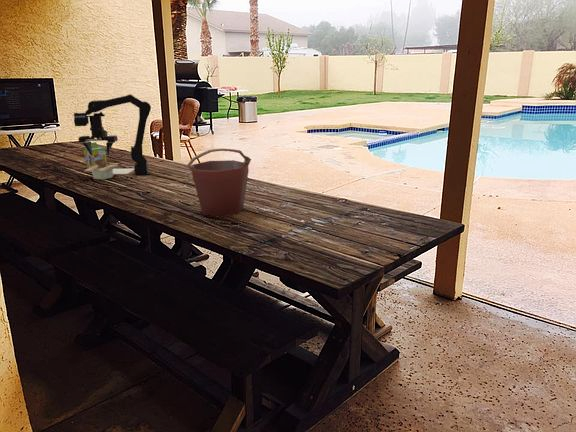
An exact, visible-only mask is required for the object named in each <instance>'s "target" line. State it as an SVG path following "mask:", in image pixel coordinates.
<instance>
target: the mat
mask: <svg viewBox="0 0 576 432" xmlns="http://www.w3.org/2000/svg"><path fill="white" fill-rule="evenodd" d="M134 171H135V170H134V167H131V168H114V169H113V175H128V174H130V173H131V172H134Z"/></svg>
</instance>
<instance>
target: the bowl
mask: <svg viewBox="0 0 576 432" xmlns="http://www.w3.org/2000/svg"><path fill="white" fill-rule="evenodd" d="M91 172H92V178H93V179H94V180H105V179H106V180H107V179H111V178H113V177H114V174H113V169H112V170H110V171H91Z"/></svg>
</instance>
